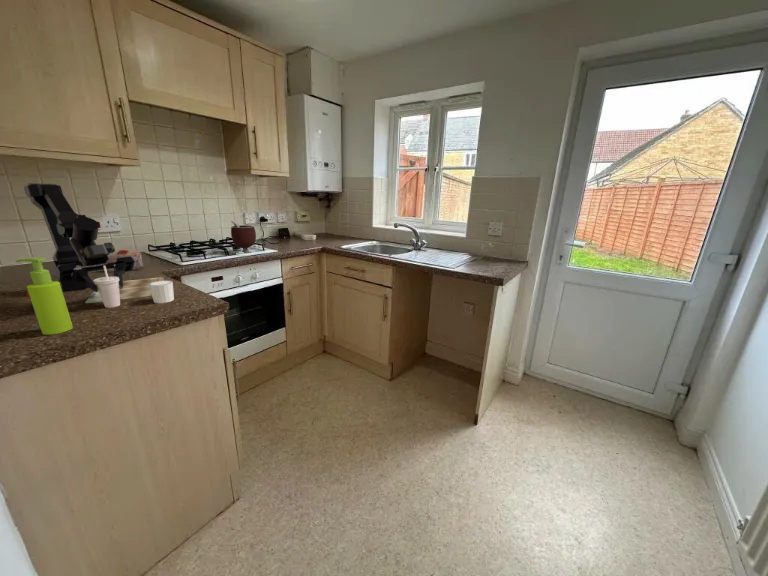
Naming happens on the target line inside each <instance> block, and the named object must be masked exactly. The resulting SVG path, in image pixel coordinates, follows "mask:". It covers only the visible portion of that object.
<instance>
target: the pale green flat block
mask: <svg viewBox="0 0 768 576" xmlns="http://www.w3.org/2000/svg"><path fill="white" fill-rule="evenodd" d="M100 302H101V303H103V301H102V299H101V297H100V294H99V292H95V291H93V292H91V294H89V296H88V298H87V299H86V301H85V304H92V303H93V304H95V303H100Z"/></svg>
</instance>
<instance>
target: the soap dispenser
mask: <svg viewBox="0 0 768 576" xmlns="http://www.w3.org/2000/svg"><path fill="white" fill-rule="evenodd" d="M45 261H46V258H44V257H25V258H19V259H16V260H15V262H16V263H21V262H28V263H29V262H31V265H32V268H33V270H32V271H30V272H29V274H30V278H31V281H32V283H31V284H29V285H26V286H27V287H26V289H27V291H28V292H29V295H30V298H31V300H30V301H31V303H32V307H33V309H34V310H33V311H34V314H35V316H36V319H37V322H38V325H39V328H40V331H41V334H42V335H45V336H46V335H47V336H49V335H58V334H61V333H65V332H67V331H70V330H72V329H73V327H74V326H73V322H72V320H71V315H70V313H69V309H68V306H67V303H66V299H65V296H64V292H62V291H63V288H62V285H61V282H59V281H58V280H56V281H53V280H52V276H51V273H50V271H49V269H46V268H44V266H43V262H45Z"/></svg>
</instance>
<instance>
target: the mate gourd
mask: <svg viewBox="0 0 768 576" xmlns="http://www.w3.org/2000/svg"><path fill="white" fill-rule="evenodd" d="M230 222H231V223H232V224H233V225H231V227H230V236H231V240H232V243H233V244H234V245H235V246H236V247H239V248H242V251H241V252H244V253H246V252H247V253H251V252H249V251H250V250H249V248H251V247H252V246H254V244H255V243H256V240H257V235H256V234H257V233H256V229H255V225H249V224H248V225H247V224H246V225H244V224H243V225H242V224H241V225H239V224H238V223H237V222H235V221H233V220H231V221H230Z"/></svg>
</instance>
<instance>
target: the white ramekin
mask: <svg viewBox="0 0 768 576" xmlns="http://www.w3.org/2000/svg"><path fill="white" fill-rule="evenodd" d="M148 285H149V288H150V291H151V294H152V296H151V297H152V300H153V302H154V303H155V304H166V303H170V302H172V301H174V300H175V296H174V295H175V294H174V283H173V280H167V279H165V280H164V281H156V282H152V283H150V284H148Z"/></svg>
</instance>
